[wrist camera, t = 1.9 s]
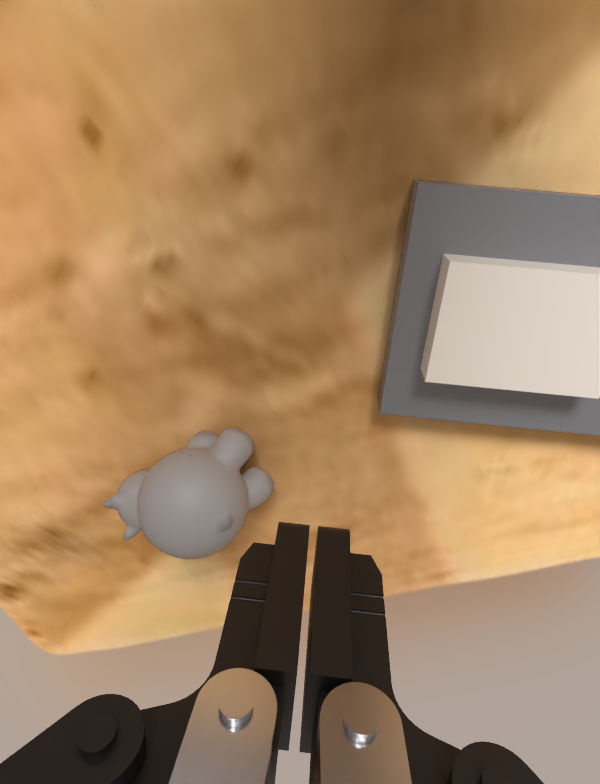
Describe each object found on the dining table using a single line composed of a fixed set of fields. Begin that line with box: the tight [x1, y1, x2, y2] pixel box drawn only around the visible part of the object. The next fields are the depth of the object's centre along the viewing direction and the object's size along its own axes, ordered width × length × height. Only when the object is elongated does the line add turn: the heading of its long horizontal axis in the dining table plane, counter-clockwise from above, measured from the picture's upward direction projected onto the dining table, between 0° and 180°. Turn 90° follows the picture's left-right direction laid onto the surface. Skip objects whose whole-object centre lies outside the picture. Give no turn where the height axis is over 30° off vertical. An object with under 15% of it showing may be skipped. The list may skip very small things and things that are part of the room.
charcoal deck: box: [378, 180, 600, 436], centre depth 30 cm, size 14×20×2 cm
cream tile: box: [420, 254, 600, 399], centre depth 28 cm, size 7×10×2 cm
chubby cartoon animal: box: [103, 428, 274, 559], centre depth 35 cm, size 7×12×8 cm, turn 108°
